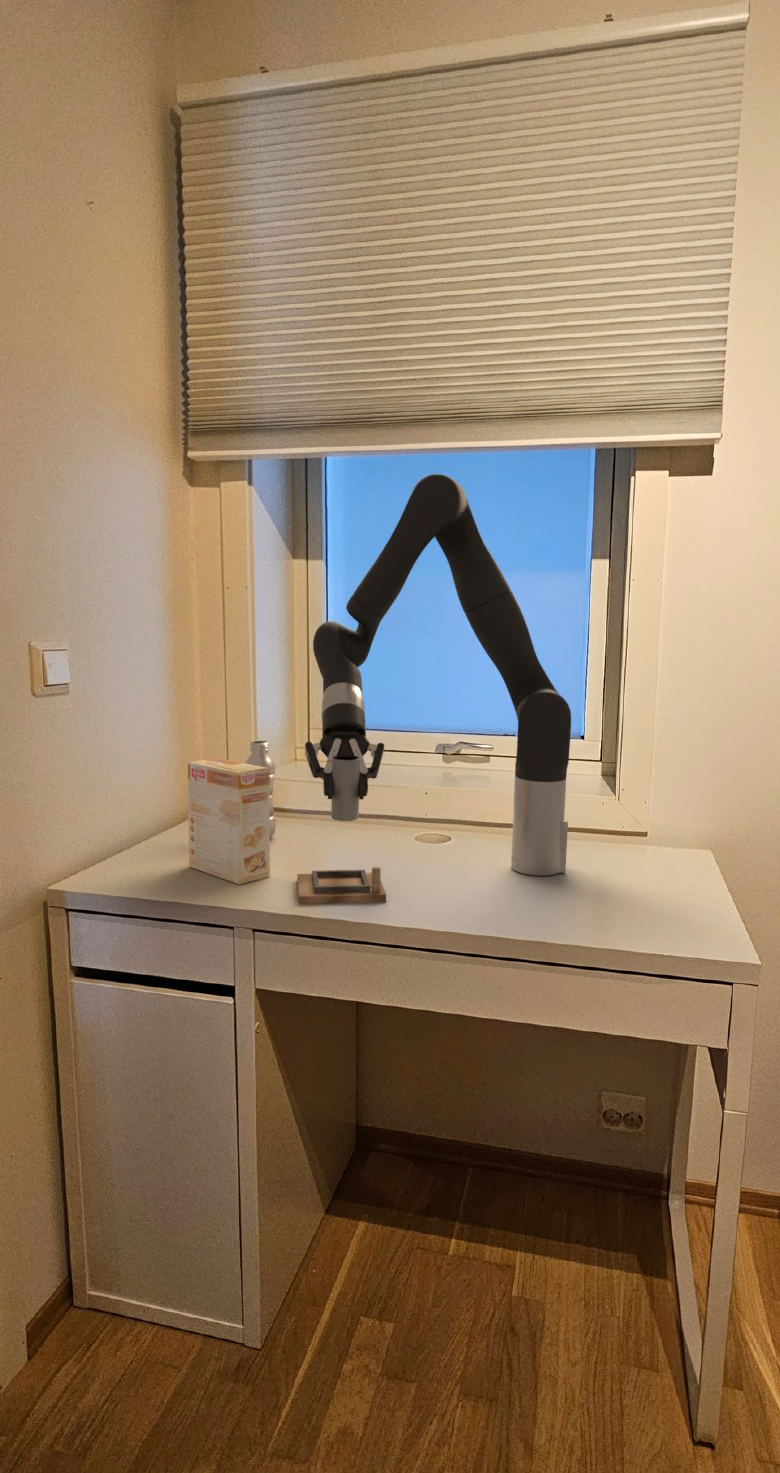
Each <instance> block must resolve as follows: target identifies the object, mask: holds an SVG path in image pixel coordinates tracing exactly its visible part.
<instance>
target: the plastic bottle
mask: <svg viewBox="0 0 780 1473" xmlns="http://www.w3.org/2000/svg"><path fill="white" fill-rule="evenodd" d="M269 744H270V742H269V741H267V740H254V741H253V740H252V741H250V748H249V751H250V752H251V754H250V755H249V756H248V757H247V759H245V762H244V763H245V764H250V765H255V766H261V767H266V768H270V838H271V837H273V836H274V834H275V832H276V829H277V828H276V827H277V824H276V816H275V812H274V802H273V801H274V800H273V798H274V795H273V793H274V782H275V776H276V765H275V762H274V760H273V758H272V757H271V756H270V755H269V752H270V748H269Z"/></svg>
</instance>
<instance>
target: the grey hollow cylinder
mask: <svg viewBox="0 0 780 1473" xmlns="http://www.w3.org/2000/svg"><path fill="white" fill-rule="evenodd" d="M359 776H360V758H359V757H357V756H352V755H338V756H334V757H333V760H332V786H333V795H332V799H331V810H330V812H331V813H330V814H331V815H330V816H331V819H332V820H334V821H339V822H340V821H341V822H351V821H355V820H358V819H359V814H360V813H359V812H360V811H359V810H360V809H359V808H360V805H359V804H360V799H359Z"/></svg>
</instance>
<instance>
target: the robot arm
mask: <svg viewBox="0 0 780 1473" xmlns="http://www.w3.org/2000/svg"><path fill="white" fill-rule="evenodd" d="M434 538H435V540H436V541H437V543H438V544H439V547H440V549H441V551H442V553H443V554H444V556H445V558H446V560H447V563H448V566H449V568H450V572H451V576H452V580H453V584H454V587H455V590H456V594H457V597H458V600H459V603H460V605H461V608H462V610H463V612H464V615H465V617H466V619H467V620H468V622H469V626H470V628H471V629H472V630H473V633H474V635H475V636H476V638H477V640H478V642H479V643H480V644H481V646H482V649H483V650H484V652H485V654H487V656H488V658H489V660H491V662H492V663H493V665H494V667H496V669H497V670H498V672H499V674H500V676H501V678H502V679H503V682H504V684H505V687H506V689H507V691H508V694H509V697H510V699H511V703H512V705H513V708H514V711H515V715H516V719H517V721H518V722H517V737H516V739H517V742H516V758H515V767H514V792H513V813H512V814H513V817H512V836H511V837H512V841H511V866H510V867H511V869H512V870H513V871H515V872H516V873H517V872H518V873H520V874H525V875H528V876H529V875H530V876H541V877H543V876H553V875H554V876H555V875H558V874H560V873H563V874H565V873H566V871H567V870H566V869H567V852H568V851H567V848H568V831H569V830H568V829H569V822H568V821H567V819H565V812H566V811H565V810H566V791H567V790H566V788H567V776H568V775H567V772H568V766H569V761H570V750H571V748H570V747H571V732H572V712H571V709H570V706H569V703H568V702H567V701H566V699H565V698H564V697H563V696H562V695H561V694H560V693H559V692H558V689H556V688H555V686H554V684H553V683H552V681H551V680H550V678H549V676H548V675H547V673H546V671H545V670H544V668H543V666H542V664H541V663H540V660H539V659H538V656H537V653H536V650H535V647H534V644H533V640H532V636H531V634H530V631H529V627H528V625H527V622H526V620H525V617H524V614H523V612H522V609H521V607H520V605H519V603H518V601H517V599H516V597H515V595H514V593H513V590H512V589H511V587H510V585H509V583H508V581H507V579H506V578H505V576H504V574H503V572H502V570H501V569H500V566H499V565H498V563H497V562H496V560H495V558H494V557H493V555H492V554H491V552H490V550H489V549H488V548H487V546H486V544H485V542H484V540H483V538H482V536H481V534H480V531H479V528H478V525H477V523H476V521H475V517H474V515H473V513H472V510H471V506H470V503H469V500H468V498H467V494H466V491H465V490H464V488H463V487H462V485H461V484H460V483H459V482H458V481H457V480H455V479H454V478H452V477H450V476H447V475H444V474H442V473H441V474H440V473H435V474H434V473H433V474H429V475H425V476H424V477H423V478H421V479H420V480H419V481H417V483H416V484H415V485H414V487H413V488H412V491H411V494H410V496H409V498H408V499H407V502H406V505H405V507H404V509H403V512H402V513H401V516H400V518H399V520H398V522H397V523H396V525H395V527H394V529H393V531H392V533H391V535H390V536H389V539H388V541H387V542H386V543H385V545H384V546H383V548H382V550H381V552H380V553H379V555H378V557H377V558H376V559H375V561H374V562H373V564H372V565H371V567H370V568H369V570H368V571H367V573H366V574H365V575H364V577H363V579H362V580H361V581H360V583H359V584H358V586H357V587H356V589H355V590H354V592H353V593H352V595H351V596H350V598H349V599H348V601H347V603H346V606H345V608H346V612H347V613H348V614H349V615H350V617H351V618H352V619H353V620H355V621H356V622H357V623H358V624H357V628H356V630H355V631H354V630H352V629H351V628H348V627H347V626H344V625H343V624H342V623H339V622H337V621H331V620H330V621H329V620H328V621H326V622H323V623H321V625H319V626H318V628H316V630H315V632H314V636H313V639H312V640H313V641H312V646H313V647H312V649H313V654H314V658H315V660H316V663H317V667H318V669H319V672H320V673H319V674H320V675H321V678H322V702H321V721H322V722H321V726H322V727H321V732H322V734H321V735H322V736H321V738H320V741H319V742H315V743H313V742H311V741H306V742H305V744H304V755H305V758H306V760H307V763H308V767H309V769H310V772H311V775H312V777H313V778H314V779H318V778H319V779H322V781H323V783H322V785H323V795H324V796H325V797H327V800H332V795H333V786H332V760H333V757H334V756H338V755H352V756H357V757H359V758H360V776H359V800H364V798H365V797H367V795H368V791H369V785H368V784H369V781H368V780H369V779H373V780H374V779H377V777H378V774H379V771H380V770H379V769H380V765H381V764H382V759H383V756H384V752H385V751H384V748H385V744H384V742H379V743H377V744H376V743H375V744H374V743H371V742H370V740H369V739H368V738H367V729H366V712H365V701H364V696H363V680H362V674H361V671H360V669H359V667H361V666H362V665H363V664H364V663H365V662H366V660H367V659H368V656H369V654H370V651H371V649H372V648H371V647H372V646H373V643H374V639H375V636H376V634H377V631H378V628H379V626H380V625H381V624H380V623H381V621H382V620H383V619H384V617H385V616H386V615H387V613H388V612H389V610H390V608H391V607H392V605H393V604H394V603H395V601H396V599H398V597H399V595H400V593H401V591H402V589H403V587H404V586H405V584H406V582H407V580H408V579H409V578H408V577H409V575H410V574H411V571H412V569H413V568H414V567H415V566H414V565H415V564H416V562H417V561H418V559H419V558H420V556H421V554H422V553H423V552H424V551H425V549H426V547H427V546H428V545H429V544H430V542H431V541H432V540H433V539H434ZM320 751H321V752H322V754H324V756H325V757H326V758H327V760H326V763H325V766H324V767H322V766H321V765H320V762H319V759H318V756H319V752H320ZM368 751H369V752H370V757H371V758H372V763H371V766H370V767H367V766H366V763H365V759H364V756H365V754H366V753H367V752H368Z"/></svg>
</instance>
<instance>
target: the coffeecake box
mask: <svg viewBox="0 0 780 1473" xmlns="http://www.w3.org/2000/svg"><path fill="white" fill-rule="evenodd" d="M187 787H188V788H187V792H188V793H187V794H188V797H187V798H188V799H187V800H188V801H187V804H188V867H189V868H192V869H194V870H197V871H200V872H203V873H206V874H209V875H211V876H215V877H217V878H220V879H222V880H226V881H227V882H228V881H229V882H231V883H235V884H237V885H243V884H247V883H250V882H254V881H258V880H263V879H267V878H270V877H271V875H270V874H271V872H270V871H271V870H270V868H271V867H270V866H271V865H270V861H271V860H270V858H271V857H270V852H271V851H270V850H271V849H270V848H271V847H270V846H271V844H270V838H271V837H270V768H266V767H261V766H255V765H250V764H245V762H241V761H240V762H238V761H235V760H234V761H233V760H228V759H223V758H218V757H216V758H214V757H213V758H207V759H200V760H192V761H188V762H187Z"/></svg>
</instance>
